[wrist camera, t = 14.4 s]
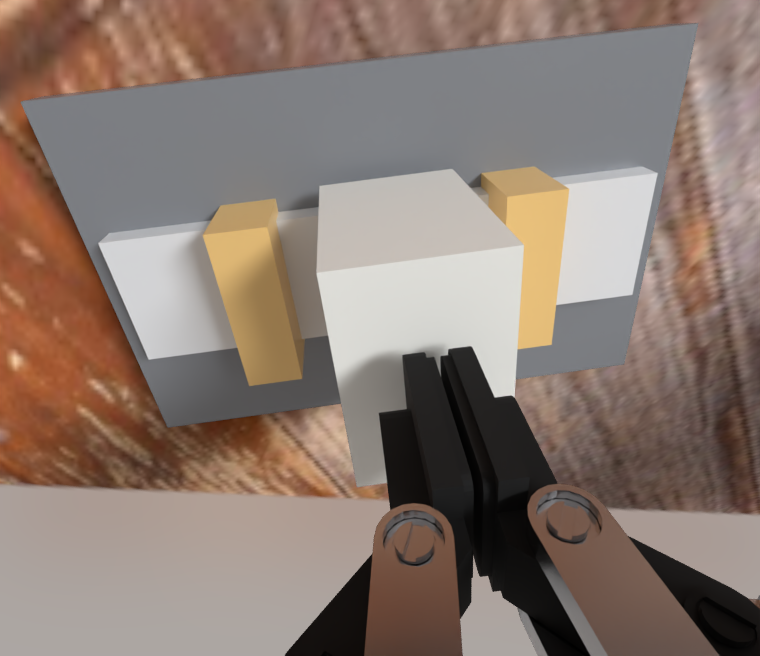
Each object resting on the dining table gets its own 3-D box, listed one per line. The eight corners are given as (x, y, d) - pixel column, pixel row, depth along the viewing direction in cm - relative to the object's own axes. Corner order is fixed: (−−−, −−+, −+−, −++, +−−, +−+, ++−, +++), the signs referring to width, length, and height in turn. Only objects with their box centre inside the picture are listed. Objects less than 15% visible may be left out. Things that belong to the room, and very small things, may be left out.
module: (452, 168, 16) (523, 245, 11) (455, 341, 20) (509, 469, 14) (319, 185, 16) (316, 272, 10) (348, 356, 20) (357, 491, 14)
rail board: (670, 24, 17) (770, 21, 13) (608, 346, 24) (660, 404, 21) (44, 96, 16) (-42, 115, 13) (176, 406, 24) (147, 477, 20)
